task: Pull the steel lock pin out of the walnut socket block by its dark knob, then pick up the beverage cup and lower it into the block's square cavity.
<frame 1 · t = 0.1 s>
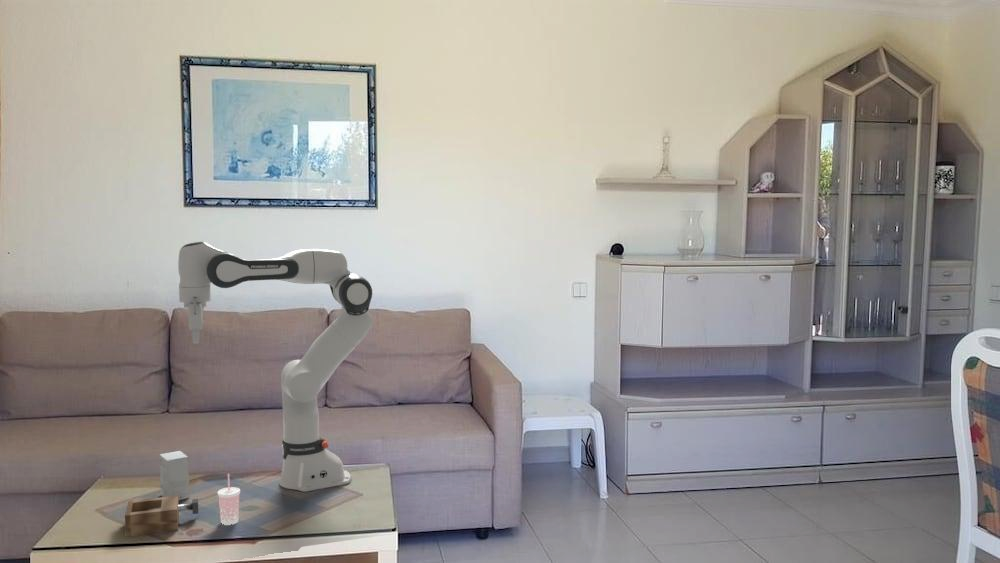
hand: (196, 340, 238), 48 cm above the table, tool pointing down, fingers open, 8 cm apart
beverage cup: (229, 522, 221), on the table
small box: (175, 497, 240), on the table
lock pin: (174, 508, 221), point 4 cm above the table, slide at 0.0 cm
socket block: (153, 526, 218), on the table
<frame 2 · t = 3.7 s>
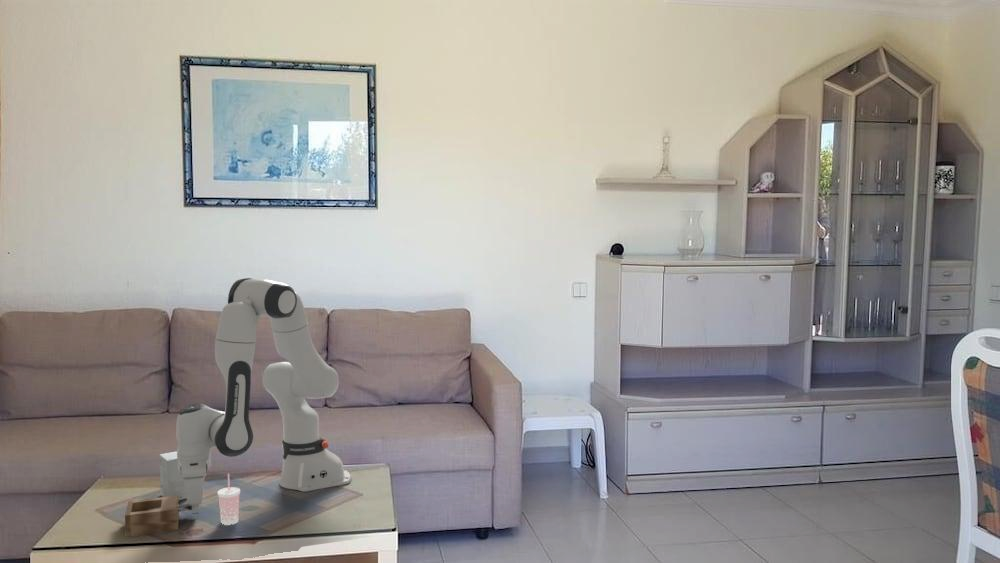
hand: (195, 509, 224), 3 cm above the table, tool pointing down, fingers closed on lock pin, 3 cm apart
lock pin: (174, 508, 221), point 4 cm above the table, slide at 0.0 cm, touching gripper
everything else where it was.
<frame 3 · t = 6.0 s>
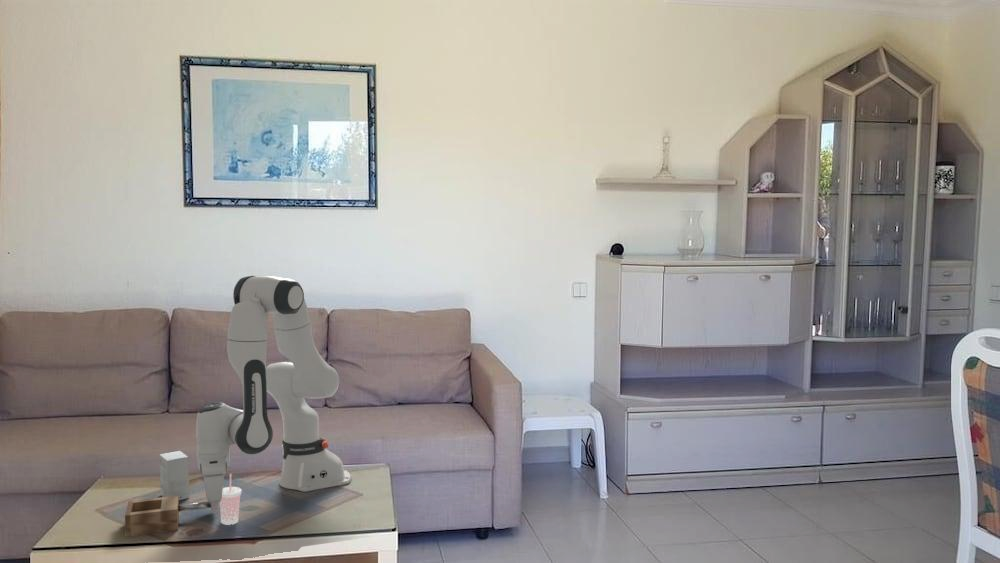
hand: (214, 506, 225), 3 cm above the table, tool pointing down, fingers open, 8 cm apart
beverage cup: (229, 522, 221), on the table, touching gripper
lock pin: (193, 506, 223), point 4 cm above the table, slide at 5.0 cm
everything else where it was.
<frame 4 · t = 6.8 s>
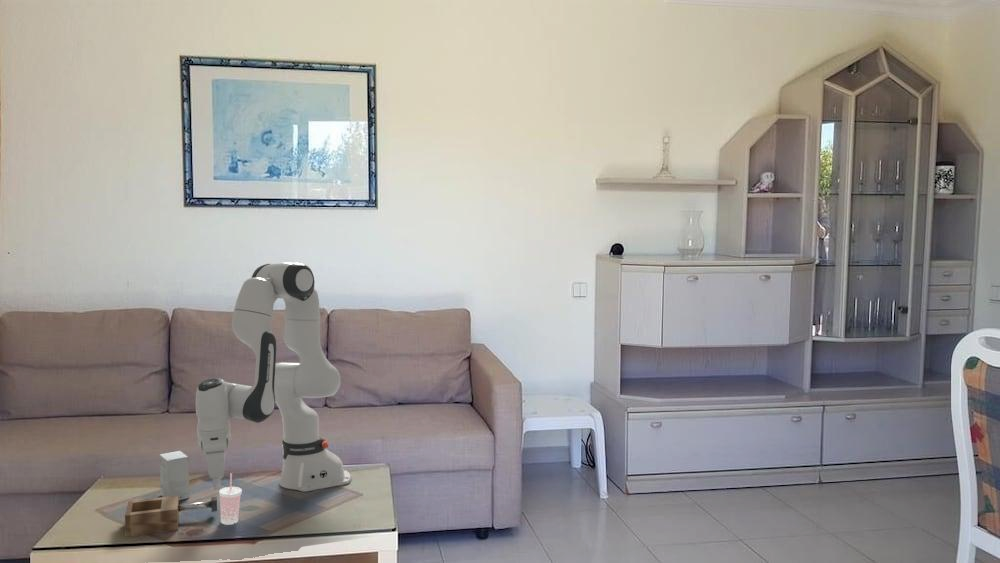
hand: (217, 482, 226), 10 cm above the table, tool pointing down, fingers open, 8 cm apart
beverage cup: (229, 521, 221), on the table
everything else where it was.
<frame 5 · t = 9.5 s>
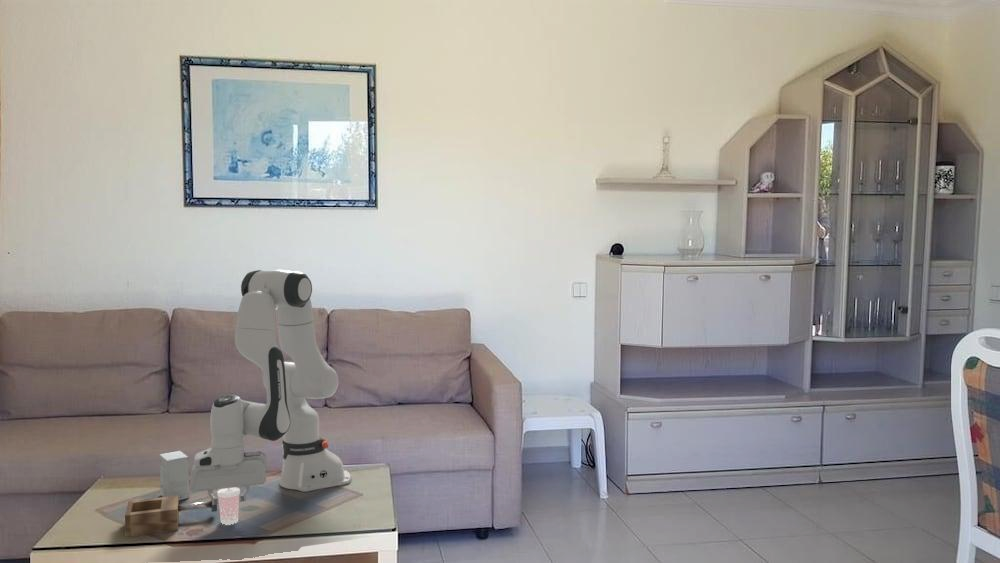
hand: (229, 502, 221), 6 cm above the table, tool pointing down, fingers closed on beverage cup, 6 cm apart
beverage cup: (229, 522, 221), on the table, touching gripper
everything else where it was.
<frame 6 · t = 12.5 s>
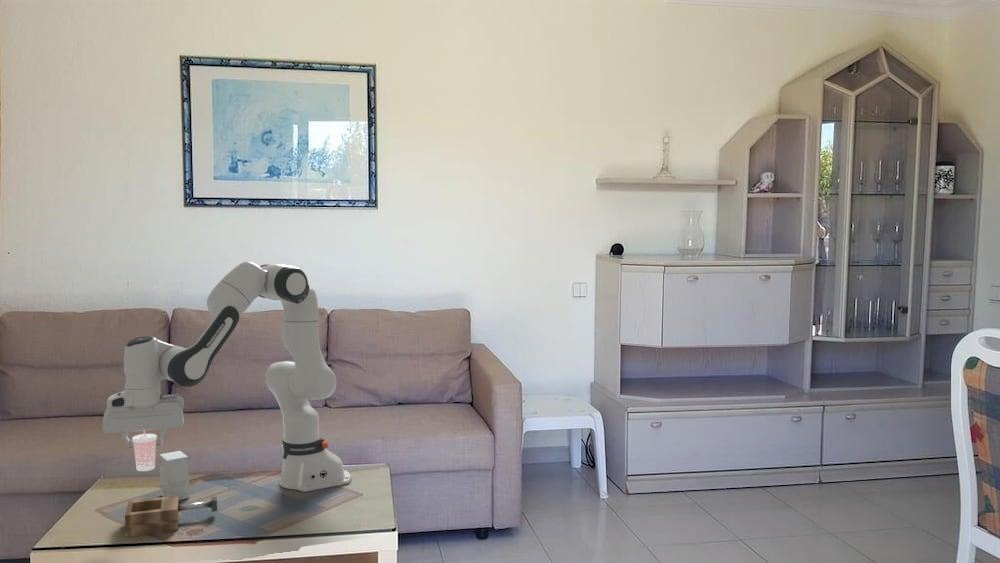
hand: (144, 445, 215), 23 cm above the table, tool pointing down, fingers closed on beverage cup, 6 cm apart
beverage cup: (145, 469, 216), point 16 cm above the table, touching gripper
everything else where it was.
when the fingers open (7 cm above the table, at t = 16.0 s): beverage cup stays where it is, resting in socket block.
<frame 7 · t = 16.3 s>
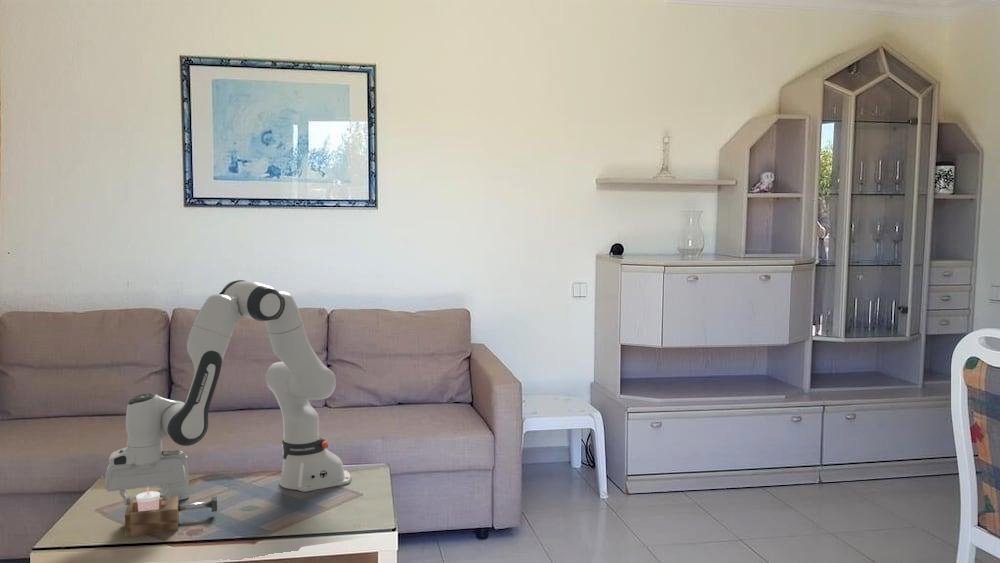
hand: (146, 502, 217), 7 cm above the table, tool pointing down, fingers open, 8 cm apart
beverage cup: (149, 527, 218), resting in socket block
everything else where it was.
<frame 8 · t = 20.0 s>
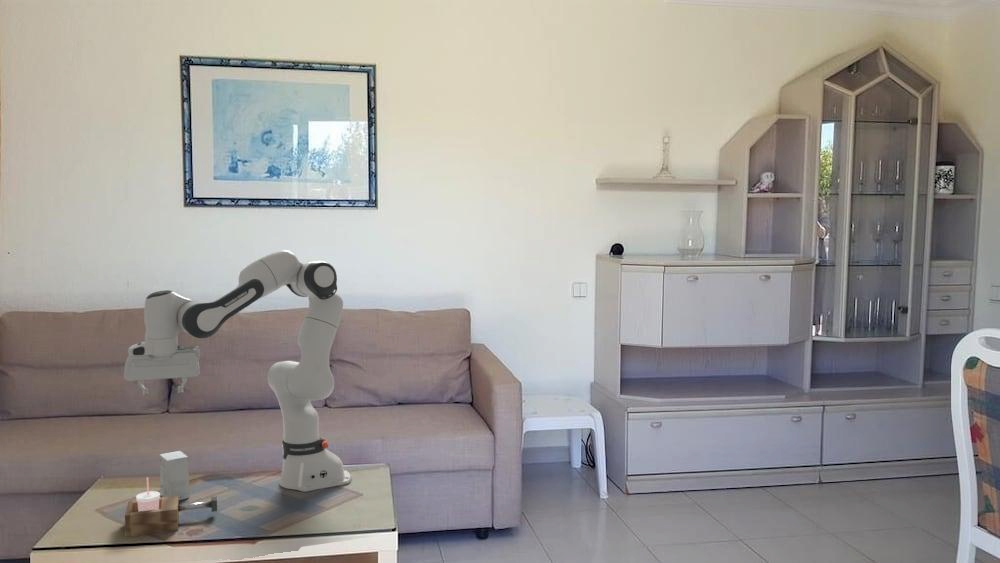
hand: (163, 393, 229), 34 cm above the table, tool pointing down, fingers open, 8 cm apart
nothing on the table moved.
at the end: beverage cup 0.5 cm from the target spot on the socket block, point 0.0 cm above the socket block's base; beverage cup tilted 0°; lock pin slide at 5.0 cm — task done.
